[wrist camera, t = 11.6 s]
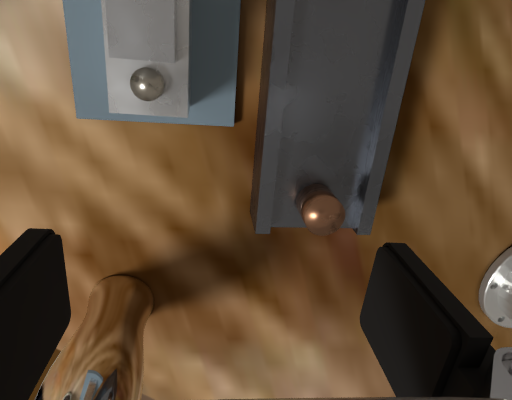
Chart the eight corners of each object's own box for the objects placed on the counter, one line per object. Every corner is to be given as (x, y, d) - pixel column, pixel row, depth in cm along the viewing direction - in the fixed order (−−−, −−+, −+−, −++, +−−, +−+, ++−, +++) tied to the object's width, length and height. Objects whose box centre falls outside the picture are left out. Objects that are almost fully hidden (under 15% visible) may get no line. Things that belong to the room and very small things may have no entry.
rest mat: (242, -47, 25) (243, -50, 24) (233, 124, 30) (233, 126, 29) (58, -70, 23) (53, -73, 23) (80, 116, 28) (76, 118, 27)
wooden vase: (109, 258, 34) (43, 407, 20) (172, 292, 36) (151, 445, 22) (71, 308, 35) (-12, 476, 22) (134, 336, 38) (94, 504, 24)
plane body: (273, -79, 25) (296, -119, 18) (408, -60, 26) (473, -91, 20) (249, 211, 33) (259, 252, 27) (352, 213, 35) (384, 252, 29)
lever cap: (115, -38, 24) (86, -63, 18) (192, -29, 25) (188, -49, 19) (123, 101, 27) (101, 119, 22) (190, 106, 28) (186, 124, 22)
